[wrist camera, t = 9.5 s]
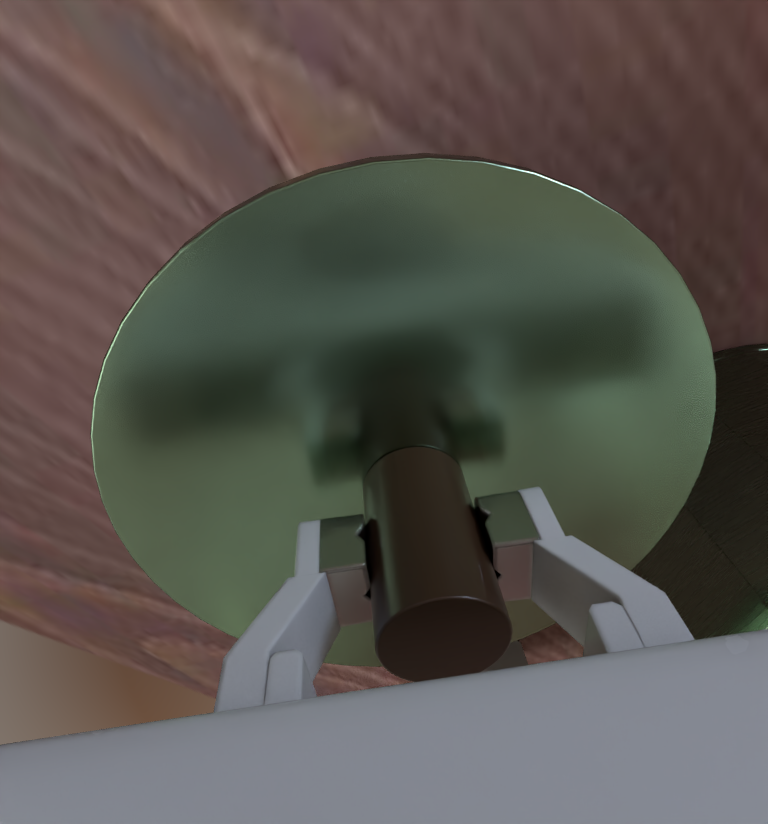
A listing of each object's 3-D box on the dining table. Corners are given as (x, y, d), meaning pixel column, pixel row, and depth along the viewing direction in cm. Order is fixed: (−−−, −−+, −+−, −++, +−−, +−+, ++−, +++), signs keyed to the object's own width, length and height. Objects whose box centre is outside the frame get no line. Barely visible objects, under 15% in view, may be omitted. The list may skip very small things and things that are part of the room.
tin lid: (286, 682, 20) (272, 876, 15) (-43, 327, 12) (-289, 503, 7) (708, 546, 18) (845, 721, 13) (654, 3, 10) (958, -50, 5)
